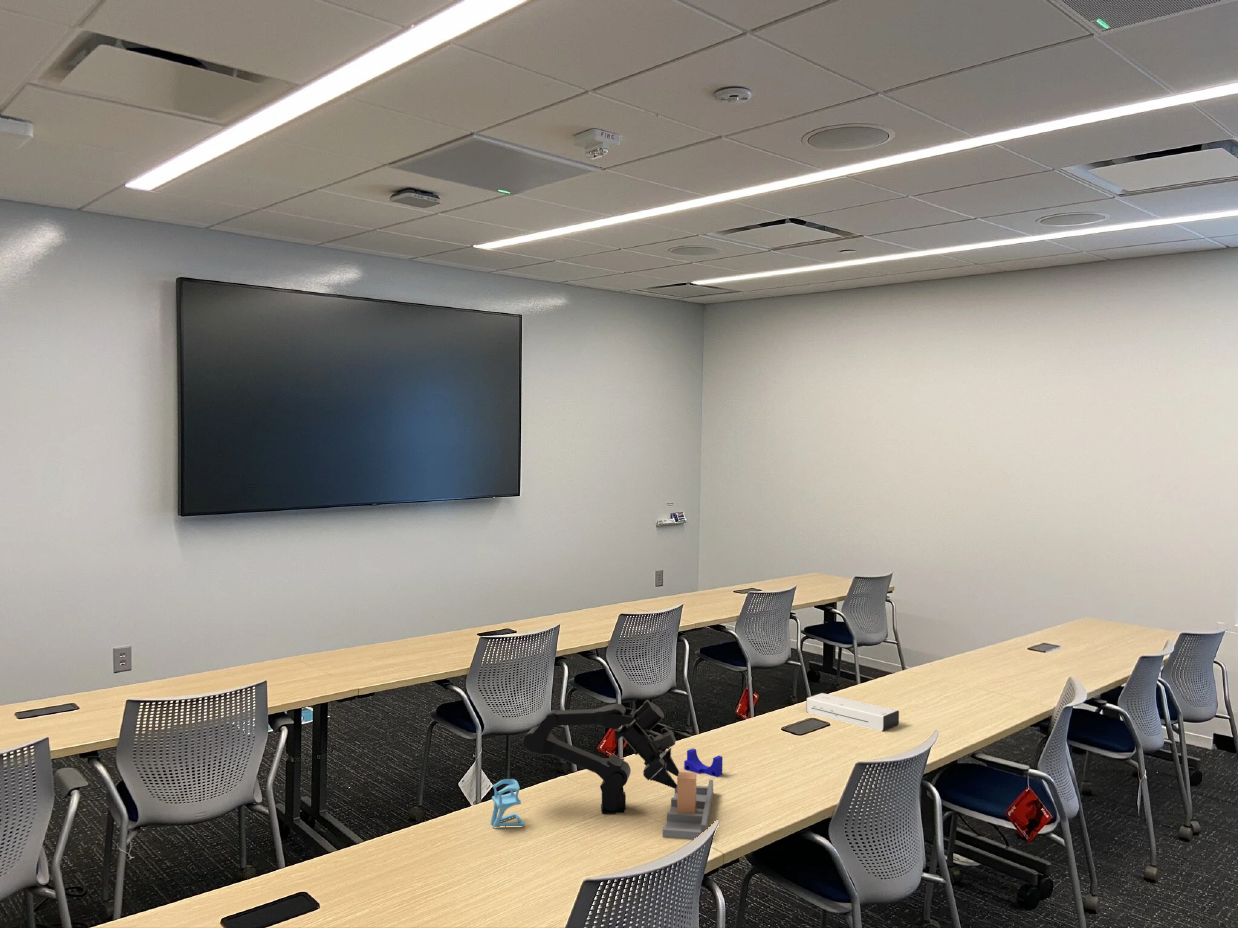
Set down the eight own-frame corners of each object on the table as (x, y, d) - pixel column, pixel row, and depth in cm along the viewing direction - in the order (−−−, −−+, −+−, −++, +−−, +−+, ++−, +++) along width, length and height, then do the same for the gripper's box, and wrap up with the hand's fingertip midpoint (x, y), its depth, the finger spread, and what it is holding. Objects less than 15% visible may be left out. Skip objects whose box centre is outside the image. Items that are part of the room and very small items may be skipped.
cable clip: (684, 769, 290) (684, 751, 290) (692, 766, 293) (692, 748, 293) (714, 778, 282) (714, 760, 282) (722, 775, 285) (722, 756, 285)
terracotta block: (677, 816, 251) (677, 777, 251) (678, 809, 256) (679, 771, 256) (694, 817, 250) (694, 778, 250) (696, 810, 255) (696, 772, 255)
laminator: (806, 713, 354) (806, 697, 353) (823, 707, 362) (823, 692, 362) (883, 732, 329) (883, 716, 329) (900, 725, 338) (900, 709, 337)
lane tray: (662, 838, 238) (662, 821, 238) (675, 791, 270) (675, 777, 270) (705, 841, 236) (705, 825, 236) (713, 794, 268) (713, 779, 268)
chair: (488, 821, 249) (487, 778, 249) (516, 816, 252) (516, 774, 252) (495, 832, 242) (495, 788, 242) (524, 826, 245) (524, 783, 245)
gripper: (654, 731, 245) (695, 774, 243) (663, 712, 263) (700, 751, 262) (626, 758, 246) (666, 800, 245) (636, 737, 265) (673, 776, 263)
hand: (677, 781), depth 253 cm, fingers open, 9 cm apart
